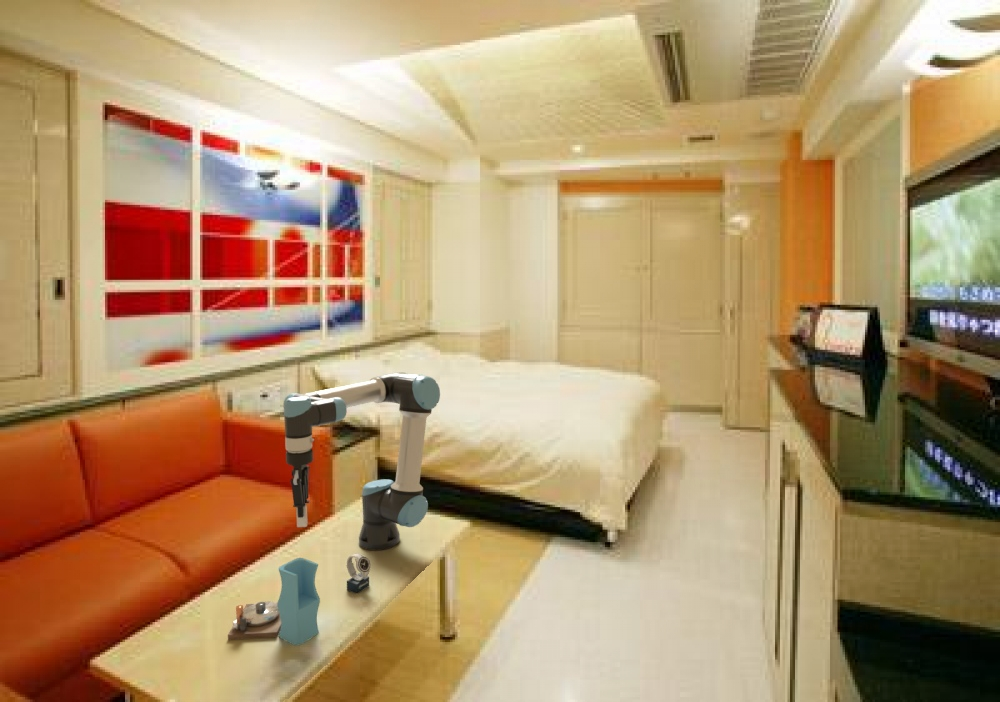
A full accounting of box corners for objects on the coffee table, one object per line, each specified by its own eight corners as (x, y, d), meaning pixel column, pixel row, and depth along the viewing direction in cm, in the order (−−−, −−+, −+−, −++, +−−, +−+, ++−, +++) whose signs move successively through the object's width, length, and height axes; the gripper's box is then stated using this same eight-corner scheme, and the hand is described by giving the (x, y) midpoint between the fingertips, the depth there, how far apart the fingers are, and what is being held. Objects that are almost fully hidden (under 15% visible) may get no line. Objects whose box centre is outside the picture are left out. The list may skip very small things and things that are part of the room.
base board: (246, 608, 170) (246, 593, 169) (291, 606, 171) (290, 590, 170) (228, 639, 155) (227, 622, 154) (277, 637, 156) (276, 620, 156)
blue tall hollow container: (297, 646, 152) (294, 576, 150) (278, 637, 156) (275, 568, 154) (321, 631, 159) (318, 563, 156) (302, 622, 163) (299, 556, 161)
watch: (361, 595, 177) (360, 562, 176) (343, 588, 181) (342, 555, 180) (374, 587, 182) (373, 554, 181) (355, 580, 186) (354, 548, 185)
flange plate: (268, 602, 170) (267, 584, 169) (286, 614, 163) (285, 596, 163) (226, 621, 160) (225, 602, 159) (244, 635, 154) (243, 616, 153)
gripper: (307, 455, 162) (310, 534, 164) (317, 443, 175) (319, 516, 177) (279, 456, 161) (283, 535, 164) (292, 443, 174) (294, 517, 177)
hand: (302, 525), depth 170 cm, fingers closed
